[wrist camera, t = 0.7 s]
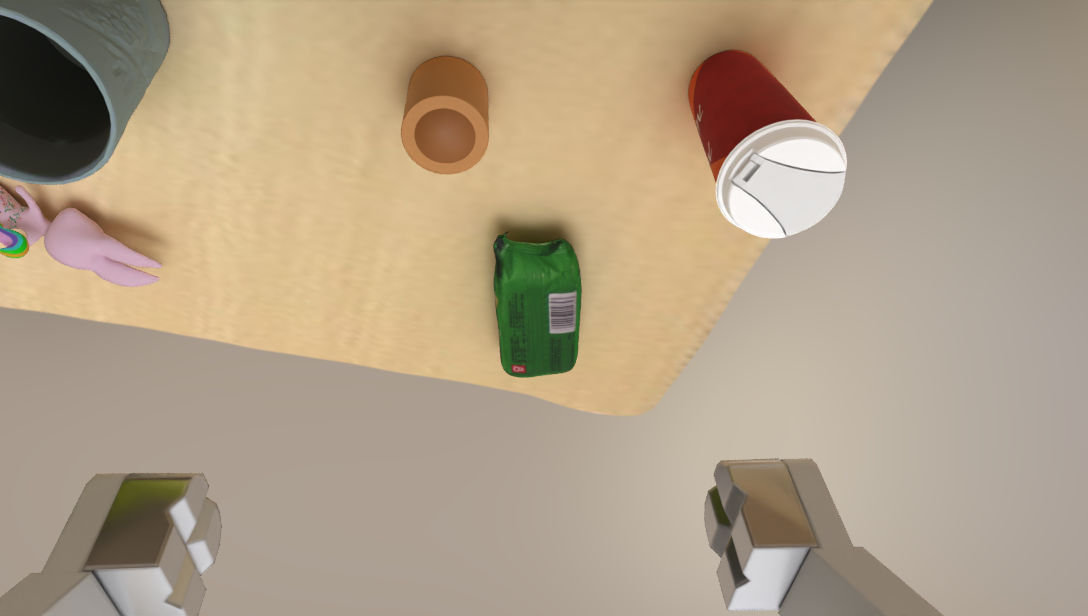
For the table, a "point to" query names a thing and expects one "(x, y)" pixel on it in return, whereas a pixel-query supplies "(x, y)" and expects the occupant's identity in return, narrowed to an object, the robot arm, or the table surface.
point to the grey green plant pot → (72, 82)
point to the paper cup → (764, 148)
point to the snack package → (537, 306)
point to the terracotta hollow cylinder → (446, 116)
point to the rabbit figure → (70, 241)
